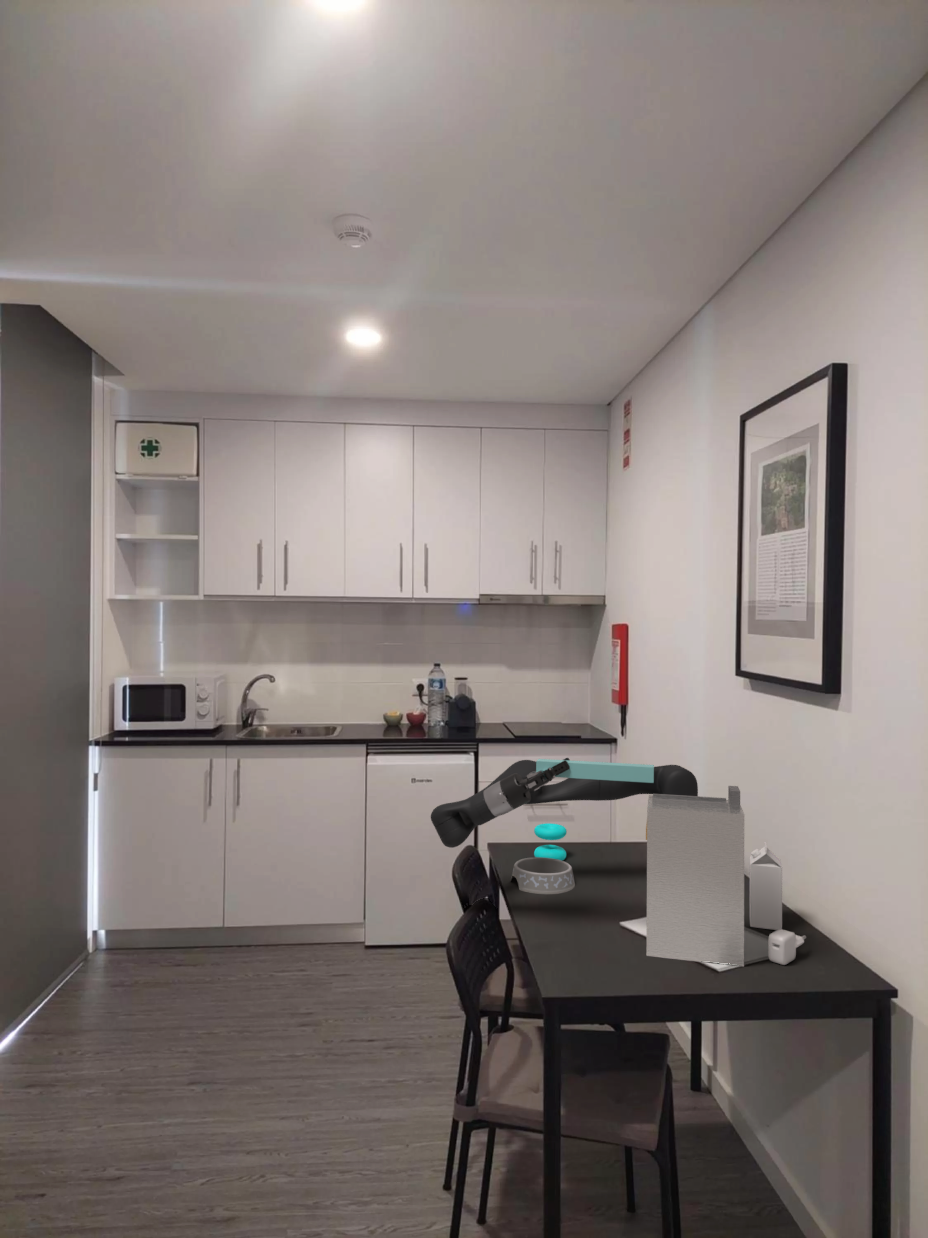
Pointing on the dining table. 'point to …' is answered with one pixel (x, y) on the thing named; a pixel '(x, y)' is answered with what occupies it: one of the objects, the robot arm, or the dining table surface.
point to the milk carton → (765, 890)
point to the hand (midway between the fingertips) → (568, 763)
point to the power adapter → (783, 946)
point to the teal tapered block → (601, 770)
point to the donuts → (550, 833)
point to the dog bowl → (543, 875)
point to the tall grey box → (695, 878)
